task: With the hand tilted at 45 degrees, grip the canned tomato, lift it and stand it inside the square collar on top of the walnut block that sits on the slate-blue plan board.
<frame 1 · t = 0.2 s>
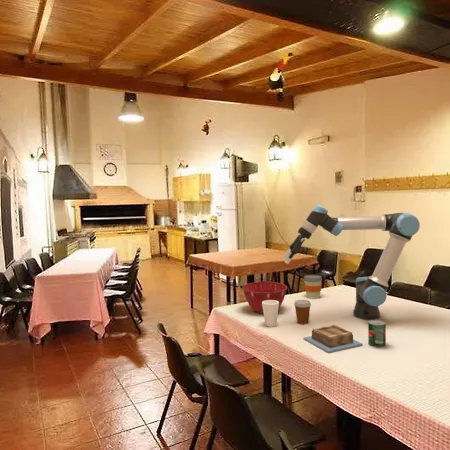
hand: (285, 260, 227), 36 cm above the table, tool tilted 35°, fingers open, 13 cm apart
disposable coffee cup: (302, 322, 229), on the table
mixing bowl: (265, 310, 255), on the table
plan board: (332, 342, 196), on the table
foam cup: (271, 325, 226), on the table
reusable coffee cup: (313, 297, 284), on the table
canned tomato: (377, 345, 192), on the table
walnut block: (332, 335, 196), on the plan board, point 4 cm above the table
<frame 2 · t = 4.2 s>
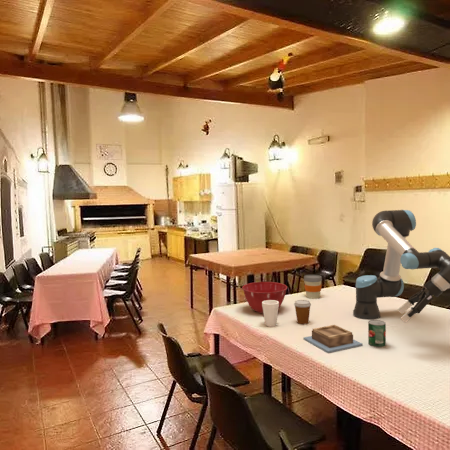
hand: (401, 315, 187), 15 cm above the table, tool tilted 45°, fingers open, 13 cm apart
nothing on the table moved.
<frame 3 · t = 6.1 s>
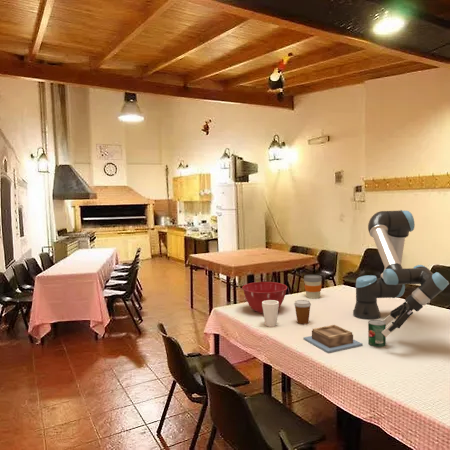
hand: (382, 329, 189), 8 cm above the table, tool tilted 45°, fingers open, 13 cm apart
nothing on the table moved.
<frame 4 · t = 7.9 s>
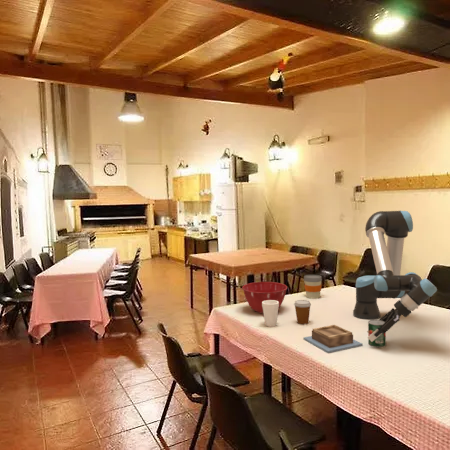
hand: (369, 336, 193), 4 cm above the table, tool tilted 45°, fingers closed on canned tomato, 8 cm apart
canned tomato: (377, 345, 192), on the table, touching gripper
everything else where it was.
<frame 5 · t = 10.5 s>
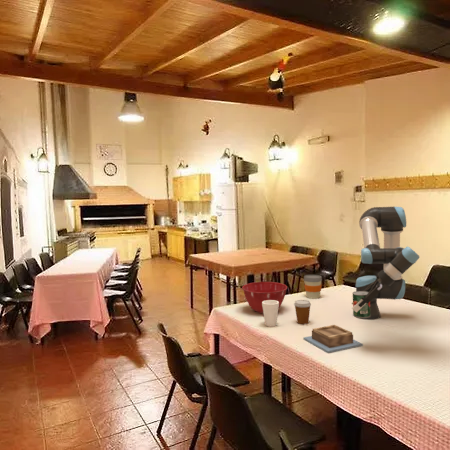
hand: (354, 307, 191), 18 cm above the table, tool tilted 45°, fingers closed on canned tomato, 8 cm apart
canned tomato: (361, 316, 191), point 14 cm above the table, touching gripper
everything else where it was.
when the fingers open (10 cm above the table, at t = 13.3 s): canned tomato drops 1 cm, resting on walnut block.
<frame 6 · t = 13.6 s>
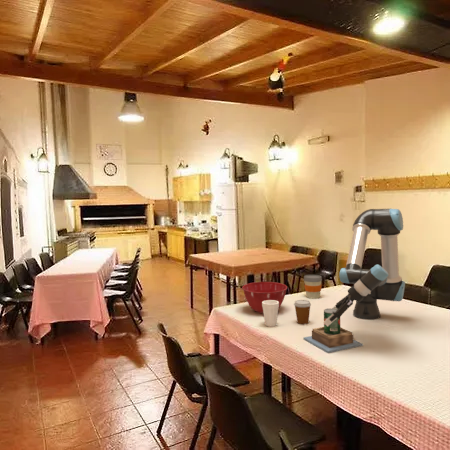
hand: (326, 320, 196), 11 cm above the table, tool tilted 45°, fingers open, 12 cm apart
canned tomato: (332, 333, 196), point 5 cm above the table, touching walnut block
everything else where it was.
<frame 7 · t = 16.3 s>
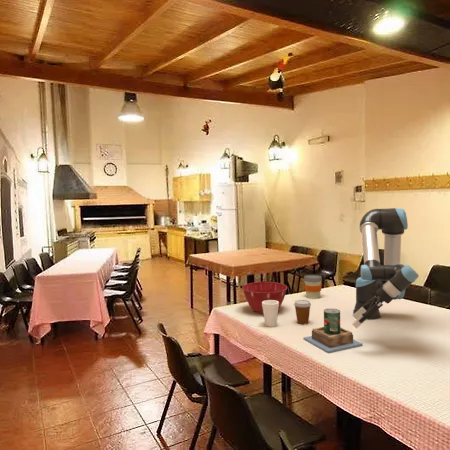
hand: (354, 321, 192), 11 cm above the table, tool tilted 45°, fingers open, 13 cm apart
nothing on the table moved.
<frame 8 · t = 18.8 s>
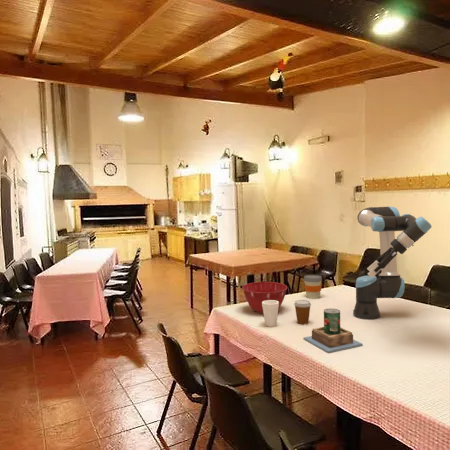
hand: (369, 273, 200), 33 cm above the table, tool tilted 45°, fingers open, 13 cm apart
nothing on the table moved.
at the end: canned tomato 0.2 cm off-centre on the walnut block, point 4.8 cm above the walnut block's base; canned tomato tilted 0°; the gripper is holding nothing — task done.
